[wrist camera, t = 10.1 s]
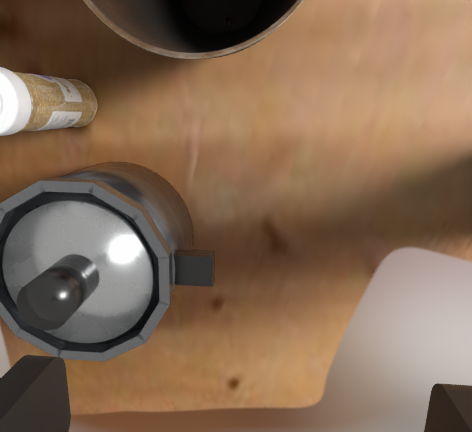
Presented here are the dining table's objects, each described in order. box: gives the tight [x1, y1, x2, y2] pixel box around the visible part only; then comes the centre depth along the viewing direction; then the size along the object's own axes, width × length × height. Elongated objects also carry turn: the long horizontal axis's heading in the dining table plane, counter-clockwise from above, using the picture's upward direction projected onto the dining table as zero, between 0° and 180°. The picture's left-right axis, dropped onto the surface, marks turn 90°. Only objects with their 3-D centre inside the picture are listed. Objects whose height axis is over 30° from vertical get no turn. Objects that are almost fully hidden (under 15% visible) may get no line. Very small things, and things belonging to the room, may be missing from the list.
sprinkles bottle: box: [0, 67, 98, 136], centre depth 32 cm, size 5×5×14 cm
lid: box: [3, 199, 156, 343], centre depth 29 cm, size 12×12×6 cm
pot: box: [0, 162, 215, 361], centre depth 36 cm, size 21×15×11 cm
